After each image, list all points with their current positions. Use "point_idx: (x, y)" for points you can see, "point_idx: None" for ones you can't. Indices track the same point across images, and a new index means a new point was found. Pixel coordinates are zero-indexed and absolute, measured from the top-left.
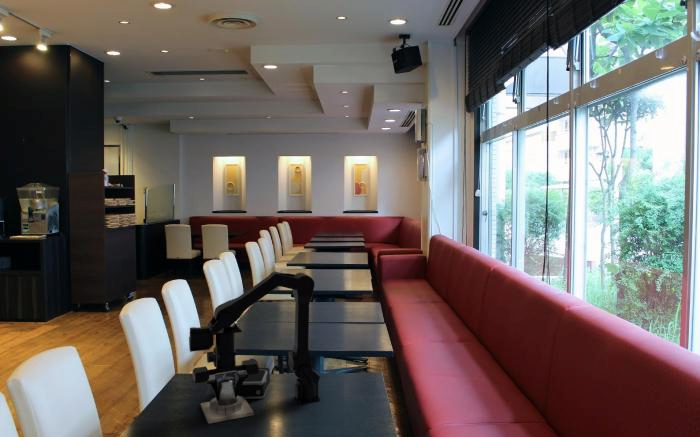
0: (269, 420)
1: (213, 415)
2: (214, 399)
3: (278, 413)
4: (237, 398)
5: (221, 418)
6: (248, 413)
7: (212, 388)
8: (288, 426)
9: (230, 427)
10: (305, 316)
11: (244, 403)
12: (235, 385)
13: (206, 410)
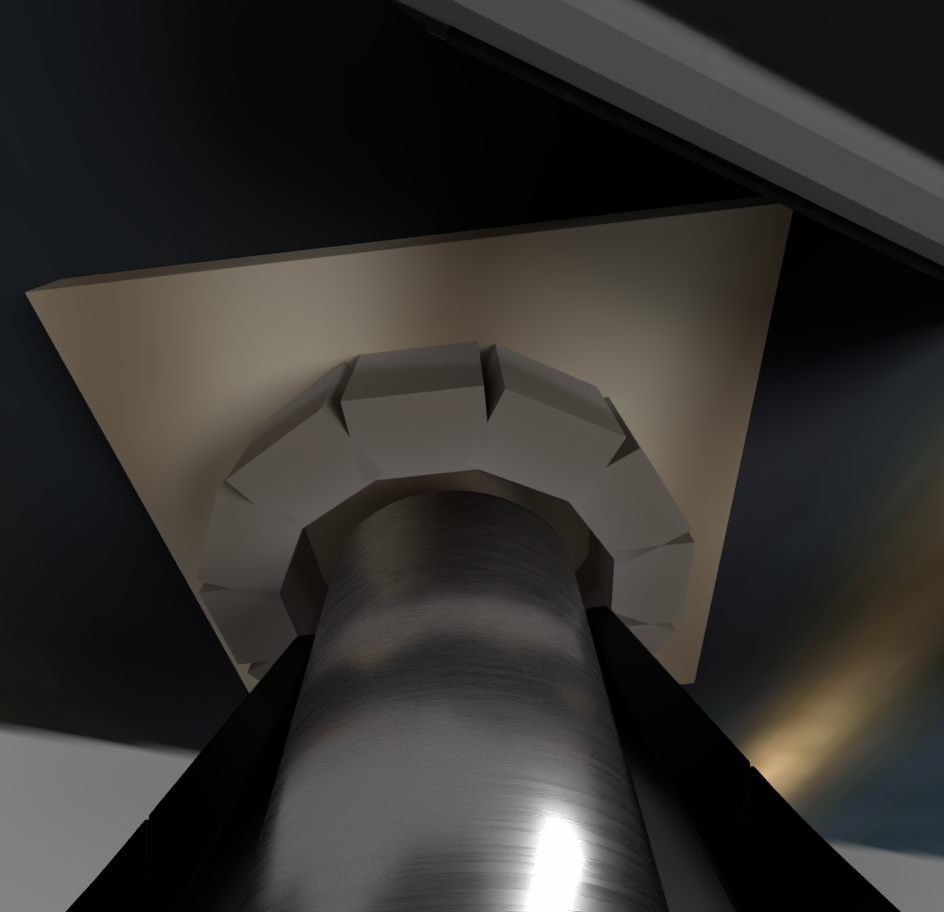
0: (753, 736)
1: None
2: (261, 523)
3: (885, 669)
4: (621, 576)
5: None
6: None
7: (134, 835)
8: (815, 804)
9: None
10: None
11: (692, 496)
12: (667, 837)
13: (201, 552)
